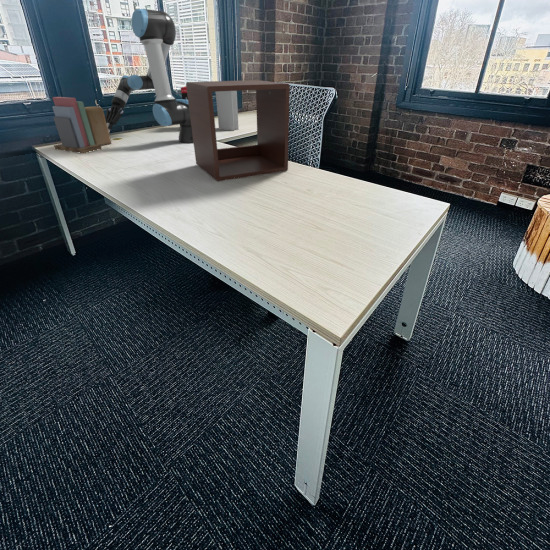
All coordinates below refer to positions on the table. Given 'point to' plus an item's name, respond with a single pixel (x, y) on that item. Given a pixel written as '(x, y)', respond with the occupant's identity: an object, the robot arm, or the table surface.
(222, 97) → the grey upright pillar
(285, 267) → the table surface
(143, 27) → the robot arm
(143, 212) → the table surface
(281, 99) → the storage cube
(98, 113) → the wooden block
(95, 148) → the walnut shelf board
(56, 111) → the row of books
